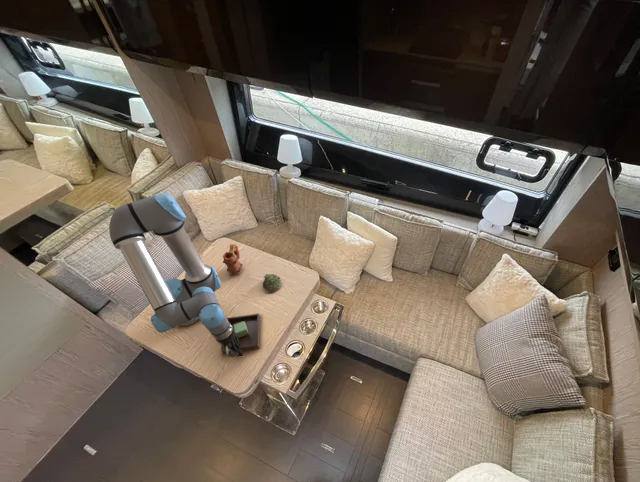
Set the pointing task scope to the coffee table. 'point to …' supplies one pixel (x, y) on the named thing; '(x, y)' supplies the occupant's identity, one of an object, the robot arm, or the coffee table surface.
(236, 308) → the coffee table surface
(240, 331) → the block
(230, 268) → the brown animal figurine
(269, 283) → the green bumpy lump
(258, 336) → the tray
